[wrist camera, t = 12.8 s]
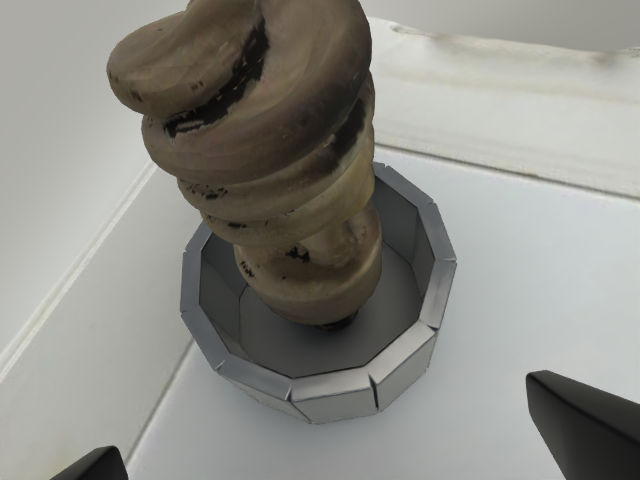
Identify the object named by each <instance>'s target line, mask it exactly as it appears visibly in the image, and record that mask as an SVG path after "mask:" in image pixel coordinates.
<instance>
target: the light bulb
mask: <svg viewBox="0 0 640 480" xmlns="http://www.w3.org/2000/svg"><path fill="white" fill-rule="evenodd" d="M371 57H372V38H371V32H370V26H369V23H368V20H367V18H366V16H365V14H364V11H363V9H362V7H361V4H360V2H359V1H358V0H190V2H189V3H188V5H187V8H186V11H181V12H178V13H176V14H173V15H170V16H168V17H165V18H163V19H160V20H158V21H155V22H153V23H150V24H148V25H145V26H143V27H141V28H139V29H138V30H136V31H134V32H133V33H130V34H129V35H127V36H126V37H125V38H124V39H123V40H121V41H120V42H119V43H118V44H117V45H116V47H115V48H114V49H113V51H112V52H111V54H110V57H109V60H108V63H107V75H108V79H109V82H110V86H111V89H112V90H113V92H114V94H115V96H116V97H117V98H118V99H119V100H120V102H121V103H122V104H124V105H126V106H127V107H128V108H130V109H132V110H133V111H135V112H138V113H141V114H143V115H144V116H143V120H142V128H141V130H142V135H143V140H144V144H145V147H146V149H147V151H148V153H149V155H150V157H151V159H152V160H153V161H154V162H155V163H156V164H157V165H158V166H159V167H160V168H162V169H163V170H165V171H166V172H167V173H169V174H171V175H173V176H175V177H177V182H178V187H179V189H180V191H181V192H182V194H183V196H184V198H185V199H186V200H187V201H188V202H189V203H190V204H191V205H192V206H194V207H195V208H196V209H198V210H200V213H201V216H202V218H203V220H204V222H205V224H206V225H207V226H208V227H209V228H210V229H211V230H212V231H213V232H214V233H215V234H216V235H217V236H218V237H220V238H222V239H224V240H226V241H228V242H230V243H233V247H234V253H235V259H236V263H237V265H238V268H239V270H240V272H241V274H242V276H243V277H244V279H245V280H246V281H247V282H248V283H249V285H250V287H251V288H252V290H253V291H254V292H255V293H256V294H257V295H258V296H259V298H260V299H261V300H263V301H264V302H265V304H266V305H267V306H268V307H269V308H270V309H271V310H272V311H274V312H275V313H277V314H278V315H280V316H281V317H283V318H285V319H287V320H289V321H293V322H297V323H301V324H306V325H313V326H314V327H316V328H319V329H322V330H325V331H335V330H339V329H341V328H344V327H345V326H347V325H349V324H350V323H351V322H352V321H353V320H354V318H355V316H356V315H357V313H358V310H359V308H360V307H361V306H362V305H363V304H364V303H365V302H366V301H367V300H368V299H369V297H370V296H371V295H372V294H373V292H374V290H375V288H376V286H377V284H378V282H379V279H380V275H381V271H382V250H383V241H382V232H381V222H380V218H379V214H378V212H377V210H376V209H375V207H374V205H373V204H372V202H371V200H370V197H371V195H372V194H373V192H374V183H375V171H374V167H373V164H372V161H373V158H374V128H373V125H372V120H373V116H374V109H375V89H374V84H373V79H372V74H371V72H370V70H369V67H370V63H371Z"/></svg>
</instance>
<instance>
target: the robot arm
mask: <svg viewBox="0 0 640 480" xmlns="http://www.w3.org/2000/svg"><path fill="white" fill-rule="evenodd" d="M526 389H527V399H528V407H529V412H530V415H531V418H532V420H533V422H534V423H535V425H536V427H537V429H538V431H539V432H540V434H541V436H542V438H543V439H544V441H545V443H546V445H547V447H548V448H549V450H550V452H551V454H552V455H553V457H554V459H555V461H556V462H557V464H558V466H559V468H560V470H561V471H562V473H563V475H564V477H565V478H566V480H640V404H638V403H635V402H632V401H630V400H627V399H624V398H621V397H619V396H616V395H613V394H611V393H608V392H605V391H602V390H600V389H597V388H594V387H592V386H589V385H586V384H583V383H581V382H578V381H575V380H572V379H570V378H567V377H564V376H562V375H559V374H556V373H553V372H551V371H548V370H542V371H536V372H531V373H528V374H527V375H526ZM50 480H128V474H127V472H126V469H125V466H124V463H123V460H122V457H121V454H120V452H119V449H118V448H117V447H116V446H107V447H101V448H97V449H94V450H93V451H91V452H90V453H88V454H87V455H85V456H84V457H82V458H81V459H79V460H78V461H76V462H75V463H74V464H72V465H71V466H69V467H68V468H66V469H65V470H63V471H62V472H60V473H59V474H57V475H56V476H54V477H53V478H51V479H50Z"/></svg>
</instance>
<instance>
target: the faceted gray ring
mask: <svg viewBox="0 0 640 480" xmlns="http://www.w3.org/2000/svg"><path fill="white" fill-rule="evenodd" d="M372 164H373V167H374V171H375V183H374V192H373V194H372V195H371V197H370V200H371V202H372V204H373V205H374V207H375V209H376V210H377V212H378V214H379V218H380V222H381V232H382V239H383V240H384V241H385V242H386V243H387V244H388V245H389V246H390V247H391V248H392V249H394V250H395V251H396V252H397V253H398V254H399V255H400V256H401V257H402V258H403V259H405V260H406V261H407V262H408V263H409V264H410V265H411V266H412V268H413V272H414V275H415V279H416V282H417V285H418V289H419V292H420V295H421V299H422V304H421V308H420V311H419V314H418V318H417V320H416V321H415V322H414V323H412V324H411V325H410V326H409V327H408V328H407V329H405V330H404V331H403V332H402V333H401V334H400V335H398V336H397V337H396V338H395V339H394V340H393V341H391V342H390V343H389V344H388V345H387V346H386V347H385V348H383V349H382V350H381V351H380V352H379V353H378V354H376V355H375V356H374V357H373V358H372V359H371V360H369V361H368V362H367V363H366V364H365V365H362V366H356V367H351V368H345V369H339V370H334V371H328V372H323V373H317V374H311V375H306V376H300V377H295V378H292V377H290V376H287V375H285V374H282V373H280V372H277V371H275V370H272V369H270V368H267V367H265V366H262V365H260V364H257V363H255V362H252V361H251V360H250V359H249V357H248V356H247V354H246V353H245V351H244V350H243V348H242V347H241V345H240V324H239V298H240V296H241V294H242V292H243V290H244V288H245V286H246V285H247V283H248V282H247V281H246V280H245V279H244V277H243V276H242V274H241V272H240V270H239V268H238V265H237V263H236V259H235V253H234V247H233V243H230V242H228V241H226V240H224V239H222V238H220V237H218V236H217V235H216V234H215V233H214V232H213V231H212V230H211V229H210V228H209V227H208V226H207V225H206V224H205V222H204V220H203V221H202V223H201V224H200V226H199V228H198V229H197V231H196V232H195V234H194V235H193V237H192V239H191V240H190V242H189V243H188V245H187V246H186V248H185V250H186V251H187V252H184V253H183V267H182V284H181V301H180V312H181V313H182V314H181V317H182V319H183V321H184V322H185V324H186V326H187V327H188V329H189V331H190V332H191V334H192V335H193V337H194V339H195V340H196V342H197V344H198V345H199V347H200V349H201V350H202V352H203V354H204V355H205V357H206V359H207V360H208V362H209V363H210V365H211V367H212V368H213V370H214V371H216V372H217V373H218V374H219V375H221V376H222V377H223V378H225V379H226V380H228V381H229V382H231V383H232V384H234V385H235V386H236V387H238V388H239V389H241V390H242V391H244V392H245V393H247V394H248V395H249V396H251V397H252V398H254V399H255V400H257V401H258V402H261V403H263V404H265V405H268V406H270V407H272V408H274V409H277V410H279V411H281V412H284V413H286V414H288V415H291V416H293V417H295V418H298V419H300V420H302V421H305V422H307V423H309V424H311V423H312V422H313V423H314V424H322V423H328V422H334V421H339V420H345V419H351V418H357V417H363V416H369V415H374V414H376V413H377V409H378V410H379V411H380V412H382V411H383V410H384V409H385V408H386V407H387V406H388V405H389V404H391V403H392V402H393V401H394V400H395V399H396V398H397V397H398V396H399V395H400V394H402V393H403V392H404V391H405V390H406V389H407V388H408V387H409V386H410V385H411V384H413V383H414V382H415V381H416V380H417V379H418V378H419V377H420V376H421V375H423V374H424V373H425V372H426V369H427V368H428V367H429V364H430V360H431V357H432V354H433V350H434V347H435V344H436V340H437V337H438V334H439V330H440V327H441V323H442V319H443V316H444V312H445V308H446V304H447V301H448V297H449V293H450V289H451V285H452V282H453V278H454V274H455V270H456V267H457V263H456V259H457V258H456V255H455V253H454V250H453V247H452V245H451V242H450V239H449V237H448V234H447V231H446V229H445V226H444V223H443V221H442V218H441V215H440V213H439V210H438V207H437V204H436V203H433V199H432V198H430V197H429V196H428V195H427V194H425V193H424V192H423V191H421V190H420V189H419V188H417V187H416V186H415V185H414V184H412V183H411V182H410V181H408V180H407V179H406V178H404V177H403V176H402V175H400V174H399V173H398V172H397V171H395V170H394V169H393V168H391V167H390V166H386V167H385V164H384V163H378V162H373V161H372ZM376 408H377V409H376Z"/></svg>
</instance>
